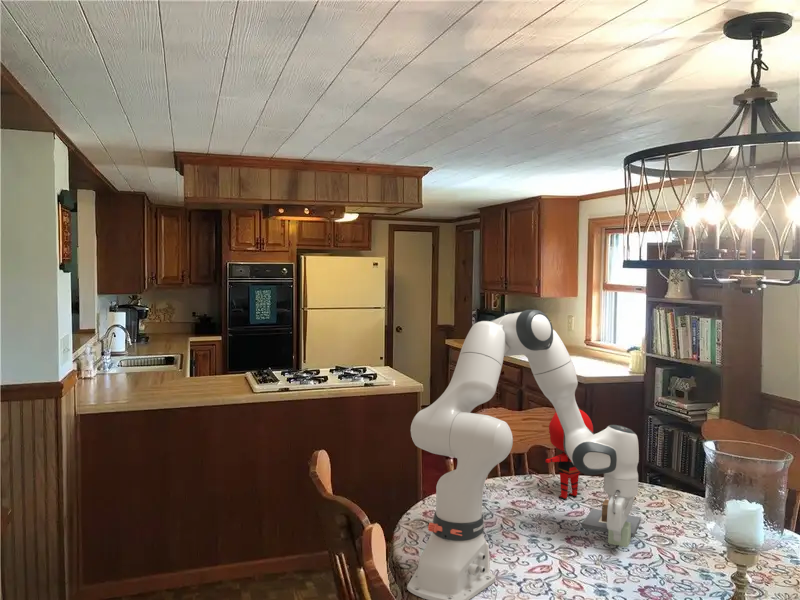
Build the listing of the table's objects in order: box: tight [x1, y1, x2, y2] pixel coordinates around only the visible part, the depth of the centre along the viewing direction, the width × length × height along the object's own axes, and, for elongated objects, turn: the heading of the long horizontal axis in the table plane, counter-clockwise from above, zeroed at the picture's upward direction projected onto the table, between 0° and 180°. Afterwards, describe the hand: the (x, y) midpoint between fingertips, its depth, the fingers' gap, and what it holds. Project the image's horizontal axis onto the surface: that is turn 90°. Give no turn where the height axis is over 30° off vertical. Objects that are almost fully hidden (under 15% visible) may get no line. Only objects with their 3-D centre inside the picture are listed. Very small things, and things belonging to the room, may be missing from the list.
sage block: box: [607, 522, 632, 548], centre depth 170 cm, size 5×5×5 cm
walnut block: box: [601, 498, 609, 522], centre depth 182 cm, size 5×5×5 cm
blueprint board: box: [581, 508, 642, 539], centre depth 182 cm, size 14×14×1 cm
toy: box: [545, 408, 594, 501], centre depth 204 cm, size 22×14×30 cm, turn 123°
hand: (619, 536), depth 170 cm, fingers closed on sage block, 5 cm apart
